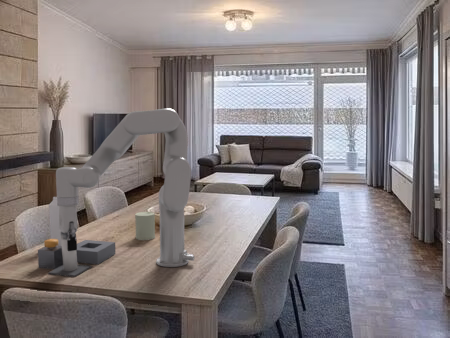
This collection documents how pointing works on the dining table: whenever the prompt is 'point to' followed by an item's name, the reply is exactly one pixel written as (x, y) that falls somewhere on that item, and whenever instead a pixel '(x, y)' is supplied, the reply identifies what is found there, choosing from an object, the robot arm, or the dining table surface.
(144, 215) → the can
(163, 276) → the dining table surface
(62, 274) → the mat
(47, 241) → the plunger
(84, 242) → the block
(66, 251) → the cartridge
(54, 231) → the milk
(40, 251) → the dark grey cube
